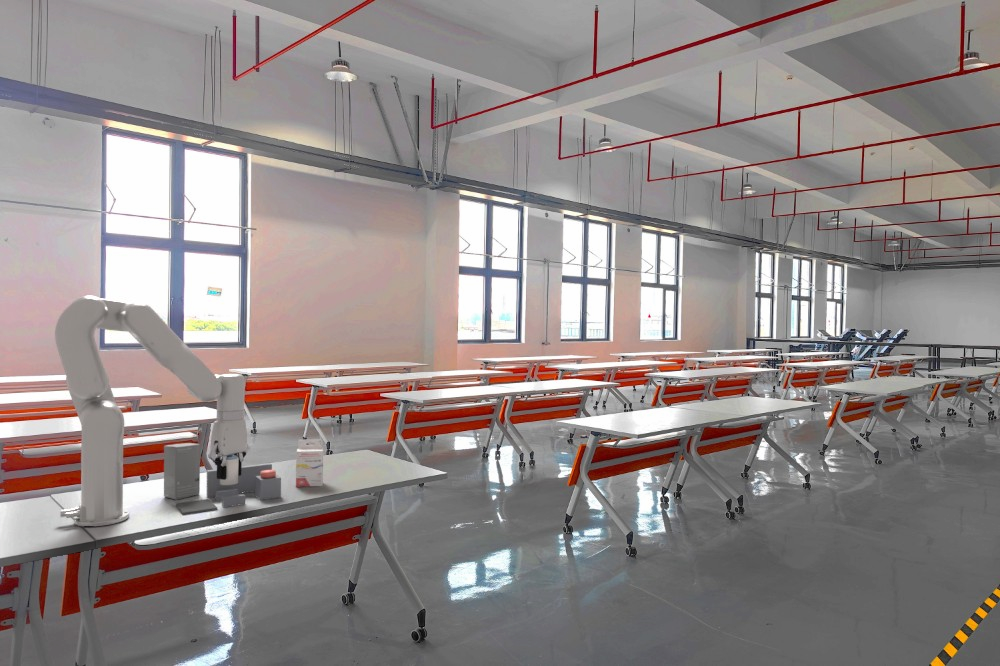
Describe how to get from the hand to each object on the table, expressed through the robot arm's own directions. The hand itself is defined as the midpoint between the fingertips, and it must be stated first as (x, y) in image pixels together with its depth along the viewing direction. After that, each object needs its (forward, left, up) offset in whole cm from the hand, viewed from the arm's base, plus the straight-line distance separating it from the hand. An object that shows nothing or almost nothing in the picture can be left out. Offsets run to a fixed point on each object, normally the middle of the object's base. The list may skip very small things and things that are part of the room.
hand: (229, 476), depth 192 cm
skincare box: (-10, +15, -8) cm, 20 cm away
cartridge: (0, 0, -2) cm, 2 cm away
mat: (-9, -1, -8) cm, 12 cm away
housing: (+5, +2, -8) cm, 10 cm away
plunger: (+11, 0, -6) cm, 13 cm away
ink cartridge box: (+27, +7, -8) cm, 29 cm away
